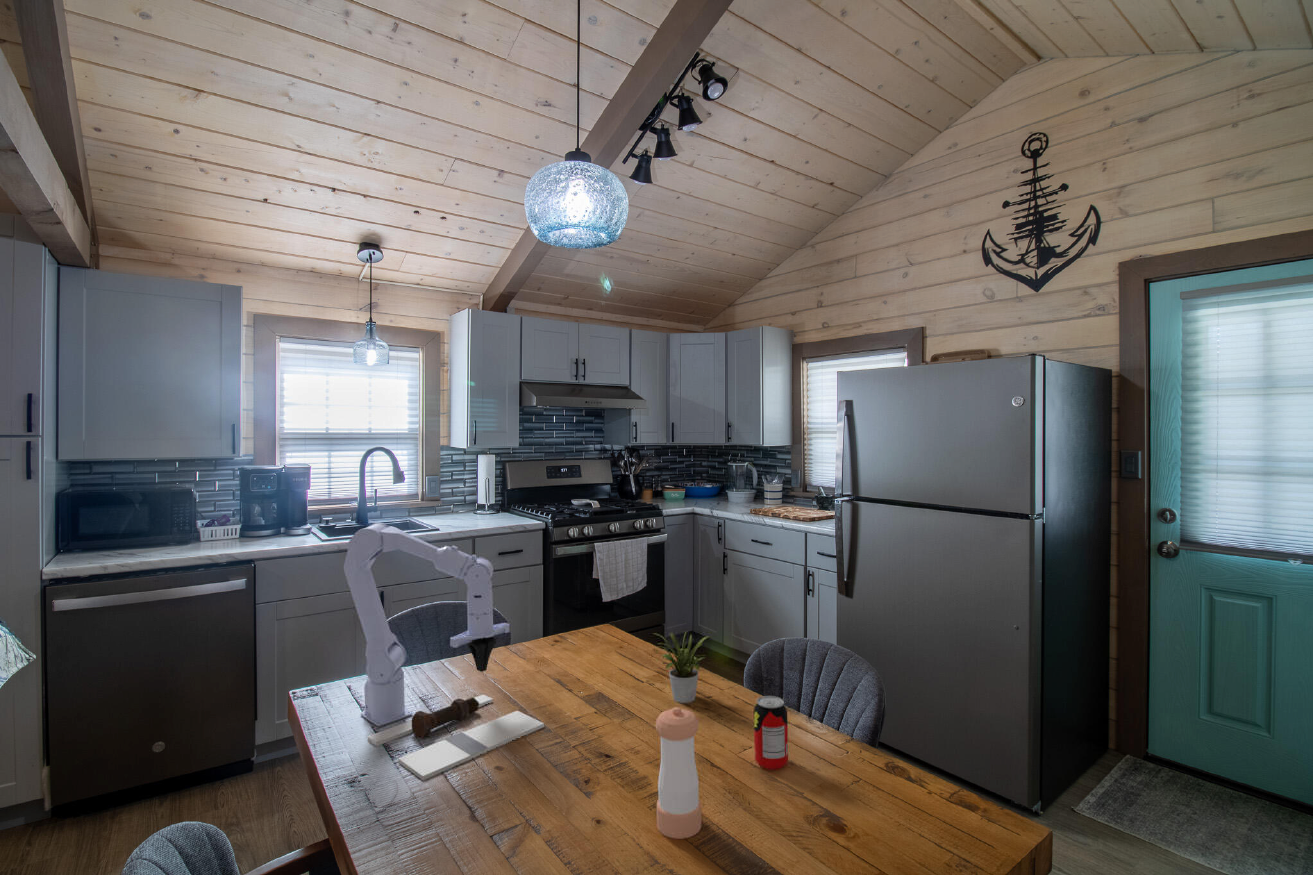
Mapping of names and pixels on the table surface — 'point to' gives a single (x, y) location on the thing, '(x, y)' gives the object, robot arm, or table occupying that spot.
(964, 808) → the table surface
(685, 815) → the pepper shaker
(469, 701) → the bolt
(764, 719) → the beverage can
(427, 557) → the robot arm
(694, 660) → the house plant
